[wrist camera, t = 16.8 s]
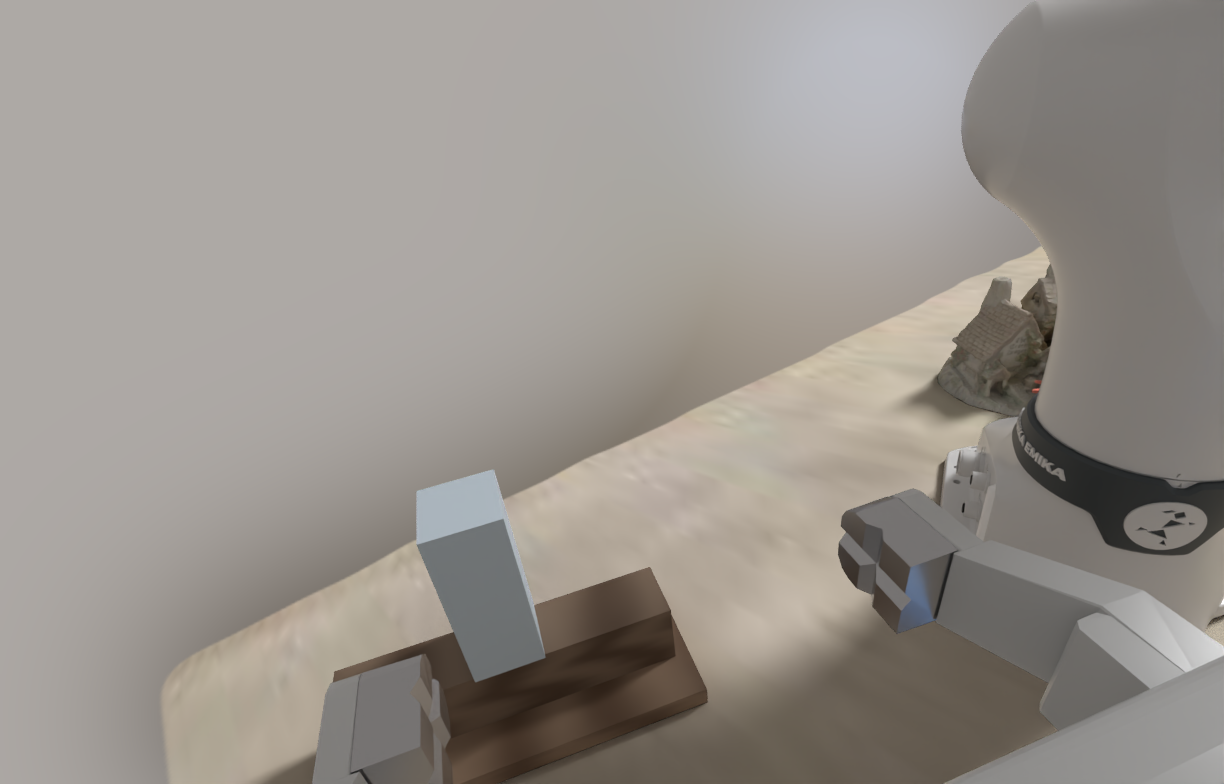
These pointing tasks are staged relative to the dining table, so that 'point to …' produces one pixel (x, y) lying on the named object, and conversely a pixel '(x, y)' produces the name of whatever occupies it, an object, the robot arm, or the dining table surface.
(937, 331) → the dining table surface
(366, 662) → the stand
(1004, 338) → the ceramic cottage
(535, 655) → the pillar
